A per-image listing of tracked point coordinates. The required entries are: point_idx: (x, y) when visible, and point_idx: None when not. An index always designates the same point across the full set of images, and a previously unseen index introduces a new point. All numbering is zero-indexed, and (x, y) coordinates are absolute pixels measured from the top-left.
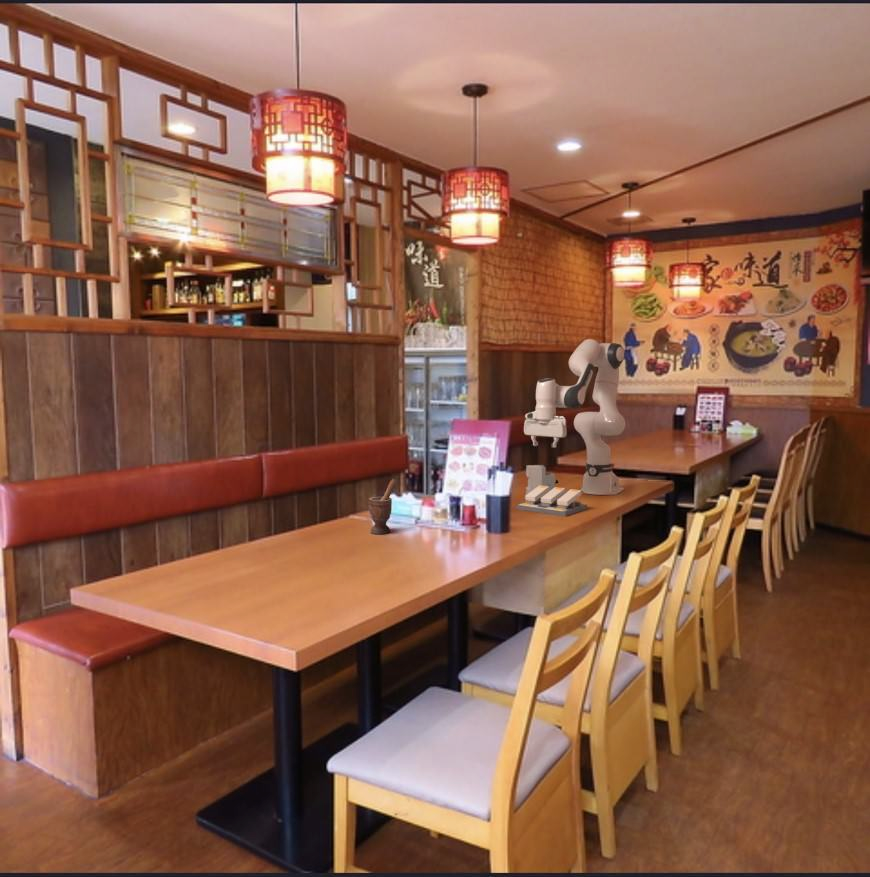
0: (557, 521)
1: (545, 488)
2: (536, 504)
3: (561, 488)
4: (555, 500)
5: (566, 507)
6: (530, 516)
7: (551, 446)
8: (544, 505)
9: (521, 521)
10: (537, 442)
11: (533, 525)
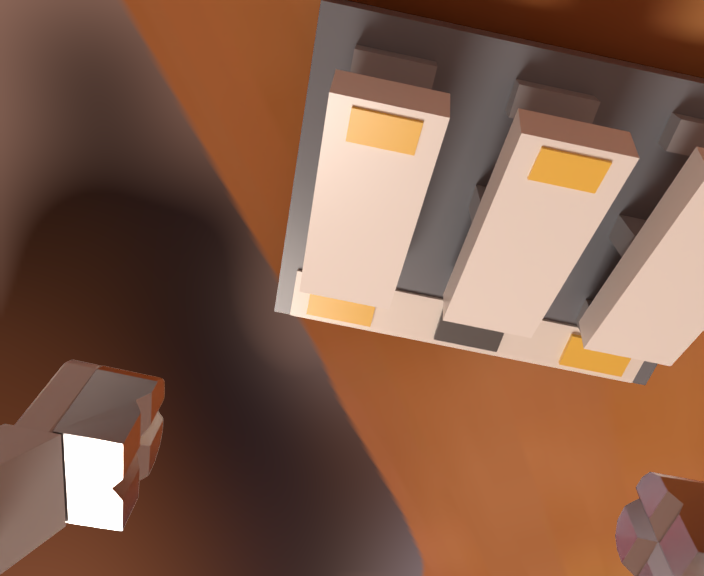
0: (608, 470)
1: (425, 165)
2: None
3: (603, 171)
4: None
5: None
6: (434, 424)
7: (617, 545)
8: None
9: (430, 518)
10: (129, 456)
11: (509, 557)
